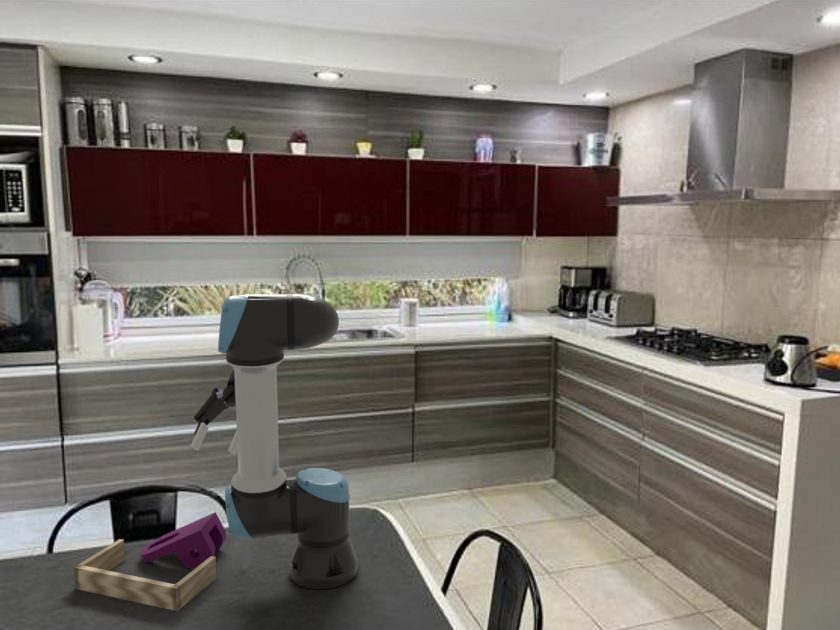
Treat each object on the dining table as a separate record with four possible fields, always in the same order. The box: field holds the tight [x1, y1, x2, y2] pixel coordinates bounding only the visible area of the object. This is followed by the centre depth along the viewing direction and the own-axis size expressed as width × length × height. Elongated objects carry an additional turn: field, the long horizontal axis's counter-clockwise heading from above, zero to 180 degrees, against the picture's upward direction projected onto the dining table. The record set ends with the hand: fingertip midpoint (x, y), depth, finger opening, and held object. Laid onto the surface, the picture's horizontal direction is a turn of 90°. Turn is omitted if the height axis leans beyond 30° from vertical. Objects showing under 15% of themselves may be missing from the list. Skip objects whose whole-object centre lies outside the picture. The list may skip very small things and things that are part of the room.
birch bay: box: [73, 538, 217, 612], centre depth 140 cm, size 26×13×5 cm, turn 72°
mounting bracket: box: [139, 511, 227, 569], centre depth 151 cm, size 9×8×18 cm
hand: (212, 450), depth 158 cm, fingers open, 10 cm apart
